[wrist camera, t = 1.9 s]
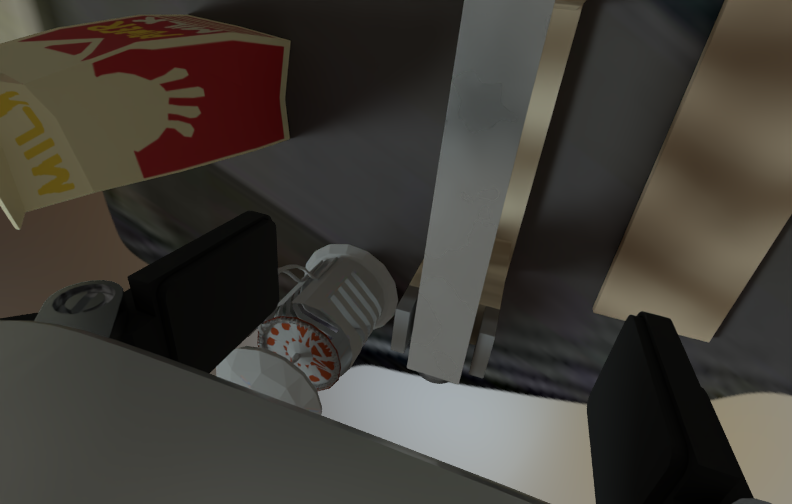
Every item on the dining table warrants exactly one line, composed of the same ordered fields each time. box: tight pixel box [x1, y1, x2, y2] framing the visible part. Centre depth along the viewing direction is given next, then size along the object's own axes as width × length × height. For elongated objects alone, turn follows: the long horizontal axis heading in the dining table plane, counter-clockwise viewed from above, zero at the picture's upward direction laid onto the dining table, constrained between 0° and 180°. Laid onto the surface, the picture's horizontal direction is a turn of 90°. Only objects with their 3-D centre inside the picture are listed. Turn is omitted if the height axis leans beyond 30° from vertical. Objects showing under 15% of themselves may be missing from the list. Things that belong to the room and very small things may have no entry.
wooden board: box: [593, 0, 792, 342], centre depth 25 cm, size 24×8×1 cm, turn 174°
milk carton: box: [0, 15, 291, 230], centre depth 25 cm, size 9×9×20 cm
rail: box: [407, 0, 555, 384], centre depth 18 cm, size 24×3×3 cm, turn 174°
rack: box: [391, 0, 586, 378], centre depth 23 cm, size 24×6×12 cm, turn 174°
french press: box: [216, 244, 398, 415], centre depth 28 cm, size 10×12×25 cm
